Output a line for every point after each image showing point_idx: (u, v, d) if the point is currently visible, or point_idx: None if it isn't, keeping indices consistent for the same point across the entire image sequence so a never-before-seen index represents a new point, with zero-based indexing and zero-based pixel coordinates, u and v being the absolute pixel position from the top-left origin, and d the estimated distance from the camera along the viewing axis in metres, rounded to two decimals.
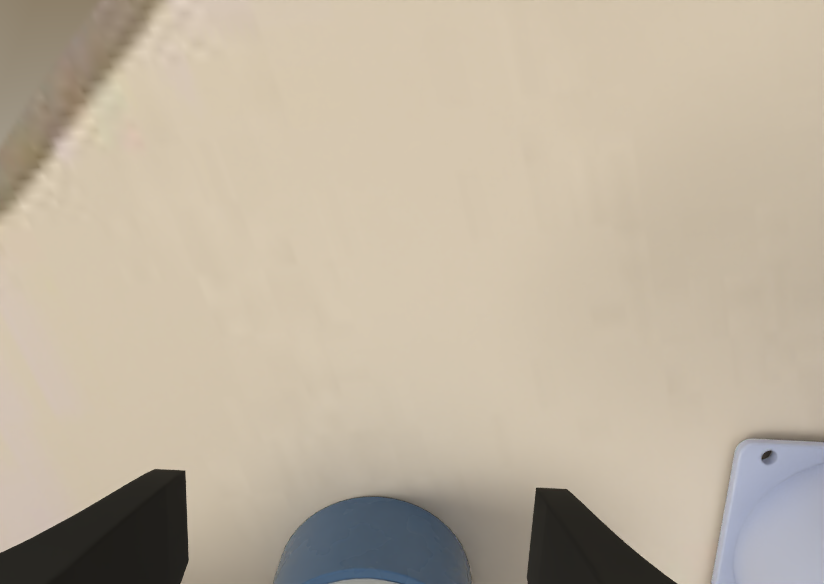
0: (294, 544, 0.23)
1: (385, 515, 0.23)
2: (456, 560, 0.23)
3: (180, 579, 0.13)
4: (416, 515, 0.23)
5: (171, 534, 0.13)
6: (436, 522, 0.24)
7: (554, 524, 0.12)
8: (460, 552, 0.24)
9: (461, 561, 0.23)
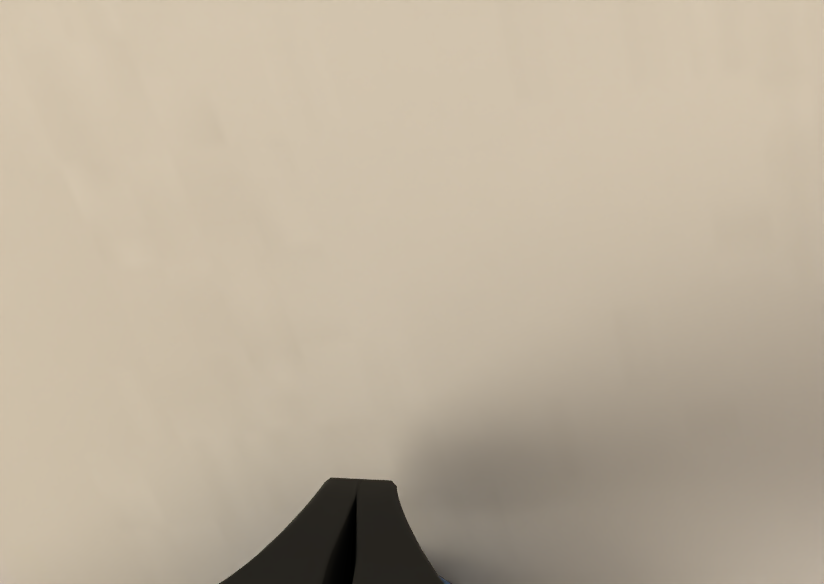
0: None
1: None
2: None
3: None
4: None
5: (355, 543, 0.13)
6: None
7: (356, 514, 0.12)
8: None
9: None
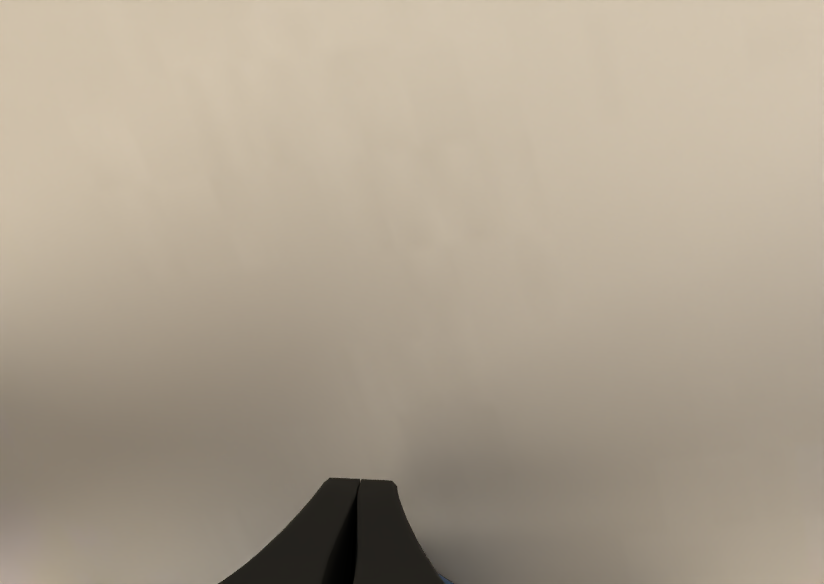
0: None
1: None
2: None
3: None
4: None
5: (354, 543, 0.13)
6: None
7: (357, 514, 0.12)
8: None
9: None
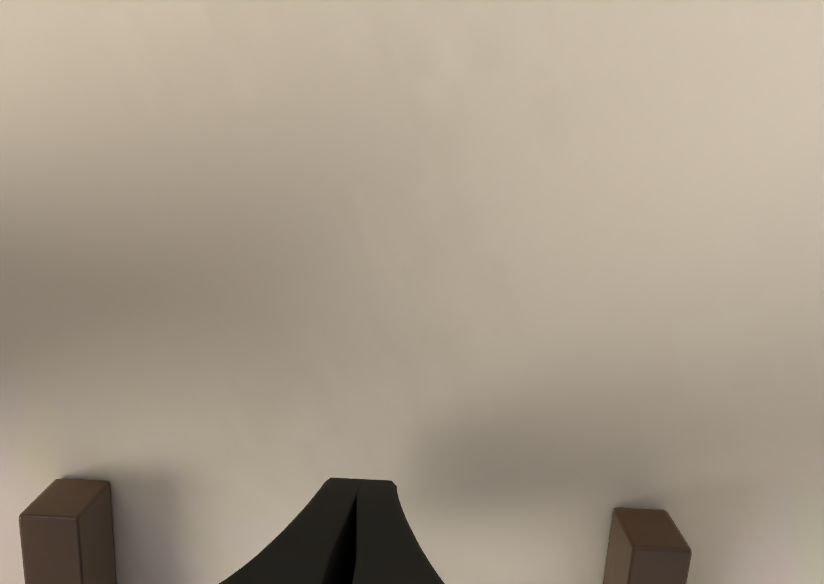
0: None
1: None
2: None
3: None
4: None
5: (355, 543, 0.13)
6: None
7: (356, 514, 0.12)
8: None
9: None
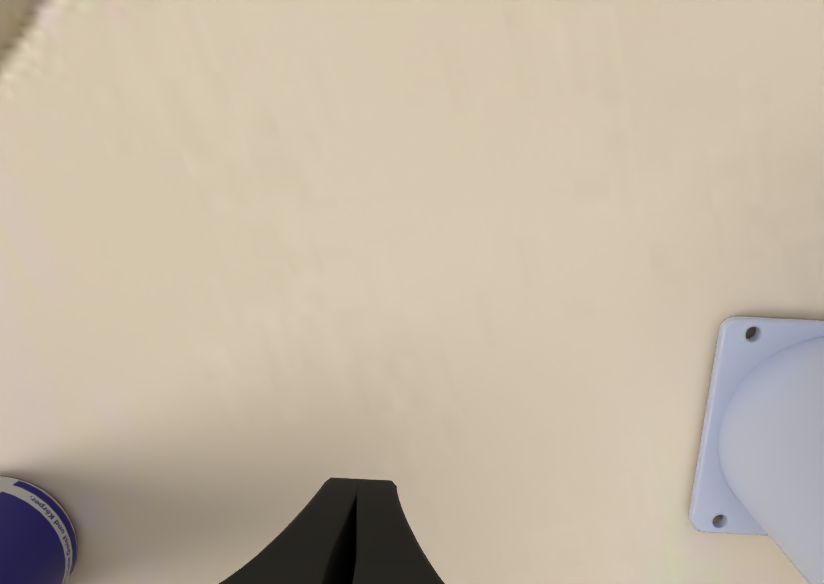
0: None
1: None
2: None
3: None
4: None
5: (355, 543, 0.13)
6: None
7: (356, 514, 0.12)
8: None
9: None
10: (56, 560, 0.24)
